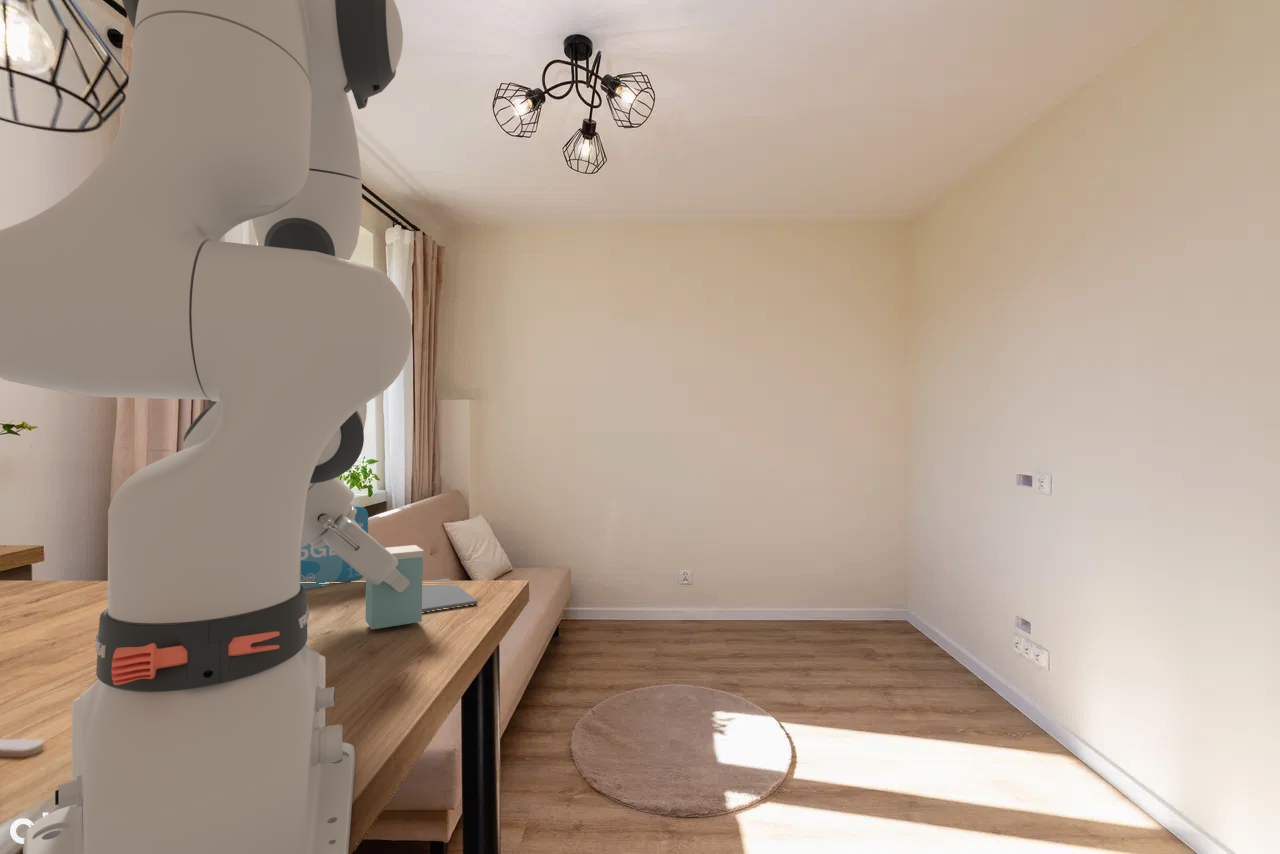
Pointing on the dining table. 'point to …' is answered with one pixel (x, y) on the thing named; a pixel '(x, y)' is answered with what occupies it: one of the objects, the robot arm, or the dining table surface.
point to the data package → (329, 561)
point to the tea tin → (391, 604)
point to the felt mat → (444, 596)
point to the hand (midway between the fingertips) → (399, 582)
